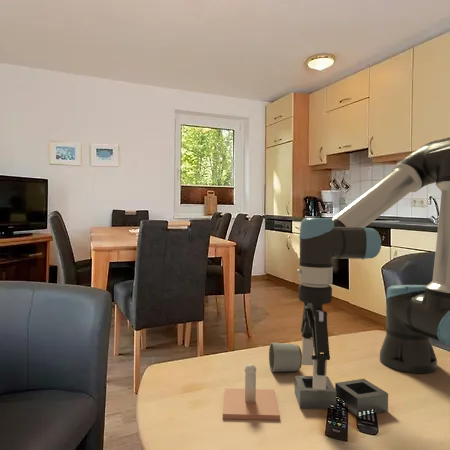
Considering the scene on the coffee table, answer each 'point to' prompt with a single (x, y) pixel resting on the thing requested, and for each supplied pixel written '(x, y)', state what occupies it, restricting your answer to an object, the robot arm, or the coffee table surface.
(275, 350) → the ceramic mug
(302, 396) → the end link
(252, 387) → the brown base with peg
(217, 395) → the coffee table surface
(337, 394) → the grey square hollow block
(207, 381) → the coffee table surface
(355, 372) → the coffee table surface
